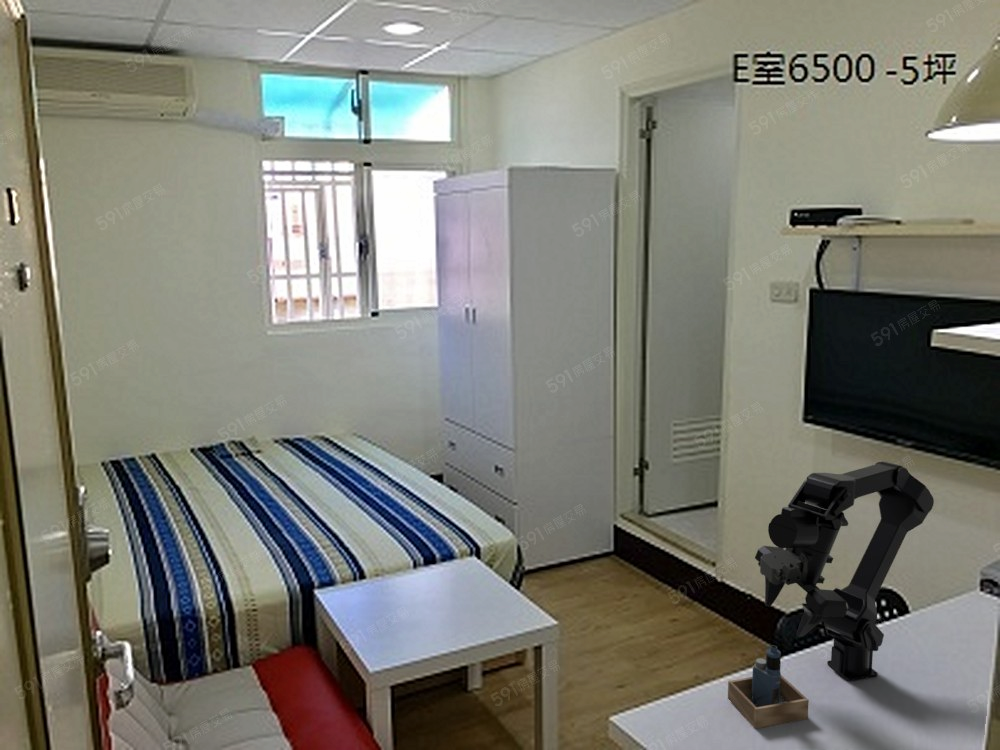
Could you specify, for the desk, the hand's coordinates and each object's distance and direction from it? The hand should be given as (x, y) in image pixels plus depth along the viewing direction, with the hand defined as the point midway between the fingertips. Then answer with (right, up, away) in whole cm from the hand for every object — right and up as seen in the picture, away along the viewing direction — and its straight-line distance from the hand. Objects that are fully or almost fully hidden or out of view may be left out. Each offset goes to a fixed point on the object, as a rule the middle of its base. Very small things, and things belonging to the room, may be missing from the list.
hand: (783, 620), depth 142 cm
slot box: (-5, -14, -5) cm, 15 cm away
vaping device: (-5, -14, -4) cm, 15 cm away
